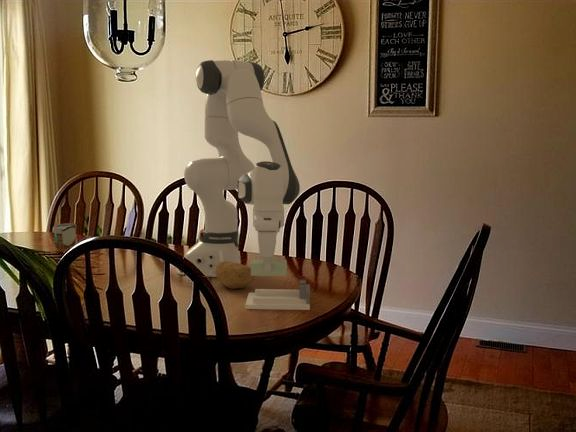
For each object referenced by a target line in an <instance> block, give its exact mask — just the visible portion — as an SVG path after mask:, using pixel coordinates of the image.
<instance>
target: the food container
mask: <svg viewBox="0 0 576 432" xmlns="http://www.w3.org/2000/svg"><path fill="white" fill-rule="evenodd" d="M52 233H53V234H54V241H55V249H56V248H58V249H67V248H69V247H70V246H73V245H75V244H76V243H77V239H76V237H77V224H76V222H70V223H69V222H67V223H59V224H55V225H53V227H52ZM76 245H77V244H76Z"/></svg>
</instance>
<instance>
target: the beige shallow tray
mask: <svg viewBox="0 0 576 432" xmlns="http://www.w3.org/2000/svg"><path fill="white" fill-rule="evenodd" d="M310 287H311V285H310V284H307V279H299V289H284V288H283V289H278V288H276V289H275V288H271V289H270V288H269V289H268V288H255V289H254V292H248V294H247V297H246V302H245V310H287V311H289V310H291V311H292V310H295V311H298V310H300V311H301V310H302V311H310V310H311V290H310V289H311V288H310Z"/></svg>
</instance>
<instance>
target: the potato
mask: <svg viewBox="0 0 576 432" xmlns="http://www.w3.org/2000/svg"><path fill="white" fill-rule="evenodd" d="M215 273H216V276H217V277H216V279H217V281H218V282H219V283H221V285H224V286H225V287H227V288H229V289H245V288H246V287H248V286H250V285H251V284H252V282H253V281H254V280H255V277H256V276H251V266H248V265H245V264H242V263H240V264H239V263H234V262H229V261H222V262H220V263H218V264H217V265H216V267H215Z"/></svg>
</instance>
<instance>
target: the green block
mask: <svg viewBox="0 0 576 432" xmlns="http://www.w3.org/2000/svg"><path fill="white" fill-rule="evenodd" d="M287 261H288V260H287V259H272V260H271V270H270V271H265V264H264V259H261V258H260V259H257V258H256V259H251V262H250V268H251V276H255V277H256V276H258V277H259V276H260V277H263V276H265V277H266V276H267V277H269V276H270V277H271V276H272V277H273V276H276V277H280V276H282V277H286V276H287V268H288V267H287V266H288V265H287V263H288V262H287Z"/></svg>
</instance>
